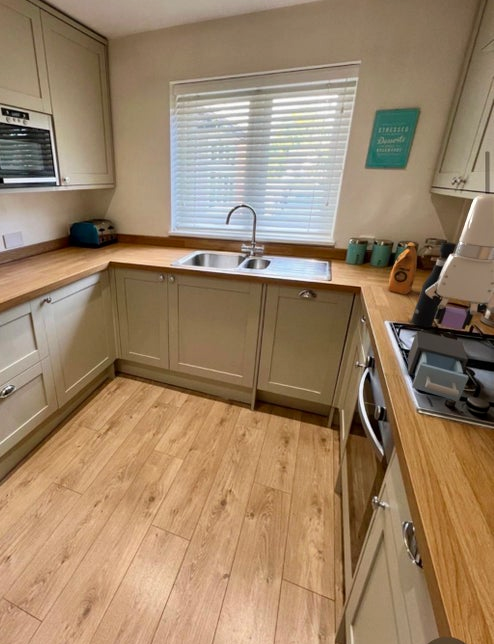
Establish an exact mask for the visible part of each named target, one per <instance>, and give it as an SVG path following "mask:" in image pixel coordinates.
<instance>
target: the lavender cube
mask: <svg viewBox="0 0 494 644" xmlns="http://www.w3.org/2000/svg"><path fill="white" fill-rule="evenodd" d="M445 309H446V311H445V314H444V317H443V320H442V322H441V324H440V326H441V327H445V328H450V329H454V330H459V331H462V330H463V329H462V326H463V324H464V321H465V319H466V316H467V314H466V312H465V311H466V309H464V308H458V307H453V306H447V305H446V307H445Z"/></svg>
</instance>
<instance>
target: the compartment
mask: <svg viewBox="0 0 494 644" xmlns="http://www.w3.org/2000/svg"><path fill="white" fill-rule="evenodd" d="M421 351H424V352H428V353H432V354H436V355H440V356H444V357H448V358H452V359H456V360H460V364H461V367H462V371H463V372H464V370H465V368H466V365H467V363H468V361H469V359H468V355H467V352H466V349H465V346H464V343H463V340H459V339H455V338H450V337H446V336H441V335H438V334H433V333H428V332H423V331H419V330H416V332H415V334H414V337H413V340H412V342H411V346H410V349H409V352H408V355H407V372H408V373H407V374H408V375H409V376H414V377H415V367H416V364H417V361H418V359H419V356H420V353H421Z"/></svg>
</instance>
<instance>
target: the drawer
mask: <svg viewBox="0 0 494 644" xmlns="http://www.w3.org/2000/svg"><path fill="white" fill-rule="evenodd" d="M468 380H469V375H468V374H464V370H463V371H462V367H461V364H460V360H456V359H452V358H448V357H444V356H440V355H436V354H432V353H428V352H424V351H421V353H420V356H419V359H418V361H417V364H416V367H415V376H414V379H413V381H412V384H411V388H412V389H415V390H419V391H422V392H425V393H429V394H432V395H436V396H438V397H442V398H445V399H449V400H453V401H455V402H459V401H460V399H461V397H462V394H463V392H464V389H465V388H466V385H467V382H468Z"/></svg>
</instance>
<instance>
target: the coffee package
mask: <svg viewBox="0 0 494 644" xmlns="http://www.w3.org/2000/svg"><path fill="white" fill-rule="evenodd" d="M415 246H416V244H415V243H414V242H413V241H411V242H408V243H407V246H406V247H405V248H406V249H405V250H404V251H402V252H401V253H400V254H399V255H398V256H397V258H396V260H395V262H394V264H393V266H392V269H391V271H390V274H389V278H388V279H389V280H388V284H387V285H388V286H387V289H388V291H389V292H394V293H397V294H402V295H408V293H409V292H410V291H411V290H412V289H413V285H414V281H415V277H416V272H417V266H418V264H417V263H418V262H417V261H418V252H417V250H416V248H415Z"/></svg>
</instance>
